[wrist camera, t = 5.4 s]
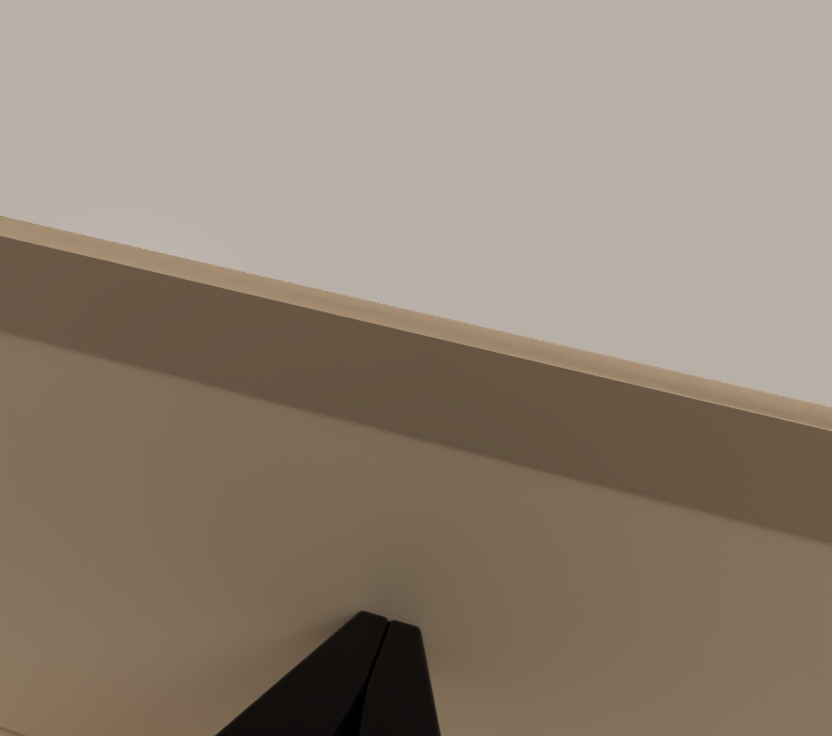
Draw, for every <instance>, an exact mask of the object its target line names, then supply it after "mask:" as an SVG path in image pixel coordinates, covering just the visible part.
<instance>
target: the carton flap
mask: <svg viewBox="0 0 832 736" xmlns="http://www.w3.org/2000/svg"><path fill="white" fill-rule="evenodd" d="M359 611H367V612H370V613H373V614H377V615H380V616H384V617H386V618H387V619H388V620H389V623H390V622H391V621H392V620H397V621H401V622H404V623H407V624H411V625H414V626H417V627H419V628H420V629H421V632H422V637H423V643H424V648H425V653H426V658H427V664H428V669H429V674H430V679H431V685H432V690H433V695H434V701H435V706H436V711H437V716H438V722H439V727H440V732H441V736H832V408H831V407H827V406H823V405H819V404H814V403H810V402H806V401H801V400H797V399H793V398H788V397H784V396H779V395H775V394H771V393H766V392H762V391H758V390H754V389H749V388H745V387H740V386H736V385H732V384H728V383H723V382H719V381H715V380H710V379H706V378H701V377H697V376H693V375H689V374H684V373H680V372H675V371H671V370H667V369H663V368H658V367H654V366H650V365H645V364H641V363H636V362H632V361H627V360H623V359H619V358H615V357H610V356H606V355H602V354H597V353H593V352H589V351H584V350H580V349H575V348H571V347H567V346H562V345H558V344H554V343H550V342H545V341H541V340H537V339H532V338H528V337H524V336H519V335H515V334H510V333H506V332H502V331H497V330H493V329H489V328H484V327H480V326H476V325H471V324H467V323H463V322H458V321H454V320H450V319H446V318H441V317H437V316H432V315H428V314H424V313H419V312H415V311H411V310H406V309H402V308H398V307H393V306H389V305H385V304H380V303H376V302H372V301H367V300H363V299H359V298H354V297H350V296H346V295H341V294H337V293H332V292H328V291H323V290H320V289H315V288H311V287H306V286H302V285H298V284H294V283H289V282H285V281H281V280H276V279H272V278H268V277H263V276H259V275H254V274H250V273H246V272H241V271H237V270H233V269H228V268H224V267H220V266H215V265H211V264H207V263H202V262H198V261H194V260H189V259H185V258H180V257H176V256H172V255H167V254H164V253H159V252H155V251H150V250H146V249H142V248H137V247H133V246H128V245H124V244H120V243H116V242H111V241H107V240H103V239H98V238H94V237H90V236H85V235H81V234H77V233H72V232H68V231H63V230H59V229H55V228H51V227H46V226H42V225H38V224H33V223H29V222H25V221H20V220H16V219H12V218H7V217H3V216H0V727H3V728H6V729H9V730H12V731H15V732H18V733H20V734H23V735H26V736H215V735H216V734H217V733H218V732H219V731H220V730H222V729H223V728H224V727H225V726H226V725H227V724H229V723H230V722H231V721H232V720H233V719H234V718H236V717H237V716H238V715H239V714H240V713H241V712H243V711H244V710H245V709H246V708H247V707H248V706H250V705H251V704H252V703H253V702H254V701H255V700H257V699H258V698H259V697H260V696H261V695H262V694H264V693H265V692H266V691H267V690H268V689H269V688H271V687H272V686H273V685H274V684H275V683H276V682H278V681H279V680H280V679H281V678H282V677H283V676H285V675H286V674H287V673H288V672H289V671H290V670H292V669H293V668H294V667H295V666H296V665H297V664H299V663H300V662H301V661H302V660H303V659H304V658H306V657H307V656H308V655H309V654H310V653H311V652H313V651H314V650H315V649H316V648H317V647H318V646H320V645H321V644H322V643H323V642H324V641H325V640H327V639H328V638H329V637H330V636H331V635H332V634H334V633H335V632H336V631H337V630H338V629H339V628H341V627H342V626H343V625H344V624H345V623H346V622H347V621H349V620H350V619H351V618H352V617H353V616H354V615H356V614H357V613H358V612H359Z"/></svg>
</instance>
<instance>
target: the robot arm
mask: <svg viewBox="0 0 832 736" xmlns="http://www.w3.org/2000/svg"><path fill="white" fill-rule="evenodd" d="M215 736H441V732H440V727H439V722H438V716H437V711H436V706H435V701H434V695H433V690H432V685H431V679H430V674H429V669H428V664H427V658H426V653H425V648H424V643H423V637H422V632H421V629H420V628H419V627H417V626H414V625H411V624H407V623H404V622H401V621H397V620H392V621H391V622H390V623H389V620H388V619H387V618H386V617H384V616H380V615H377V614H373V613H370V612H367V611H359V612H358V613H357V614H356V615H354V616H353V617H352V618H351V619H350V620H349V621H347V622H346V623H345V624H344V625H343V626H342V627H341V628H339V629H338V630H337V631H336V632H335V633H334V634H332V635H331V636H330V637H329V638H328V639H327V640H325V641H324V642H323V643H322V644H321V645H320V646H318V647H317V648H316V649H315V650H314V651H313V652H311V653H310V654H309V655H308V656H307V657H306V658H304V659H303V660H302V661H301V662H300V663H299V664H297V665H296V666H295V667H294V668H293V669H292V670H290V671H289V672H288V673H287V674H286V675H285V676H283V677H282V678H281V679H280V680H279V681H278V682H276V683H275V684H274V685H273V686H272V687H271V688H269V689H268V690H267V691H266V692H265V693H264V694H262V695H261V696H260V697H259V698H258V699H257V700H255V701H254V702H253V703H252V704H251V705H250V706H248V707H247V708H246V709H245V710H244V711H243V712H241V713H240V714H239V715H238V716H237V717H236V718H234V719H233V720H232V721H231V722H230V723H229V724H227V725H226V726H225V727H224V728H223V729H222V730H220V731H219V732H218V733H217V734H216V735H215Z"/></svg>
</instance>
